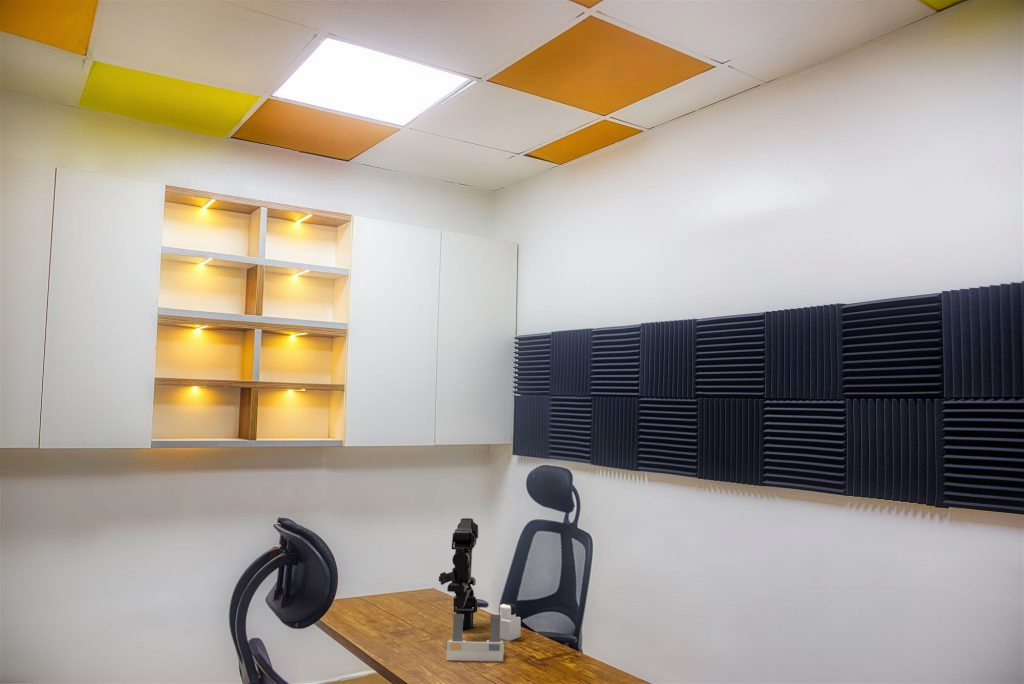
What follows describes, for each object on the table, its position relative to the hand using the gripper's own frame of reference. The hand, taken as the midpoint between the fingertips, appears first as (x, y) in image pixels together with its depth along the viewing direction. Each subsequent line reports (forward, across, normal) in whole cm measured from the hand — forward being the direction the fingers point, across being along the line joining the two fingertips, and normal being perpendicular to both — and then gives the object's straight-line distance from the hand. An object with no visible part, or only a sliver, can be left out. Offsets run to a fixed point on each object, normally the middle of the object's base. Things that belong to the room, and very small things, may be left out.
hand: (461, 608), depth 275 cm
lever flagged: (+9, +15, +3) cm, 17 cm away
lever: (+9, +12, +15) cm, 22 cm away
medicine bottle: (+11, -10, +16) cm, 22 cm away
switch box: (+13, +14, +9) cm, 21 cm away
